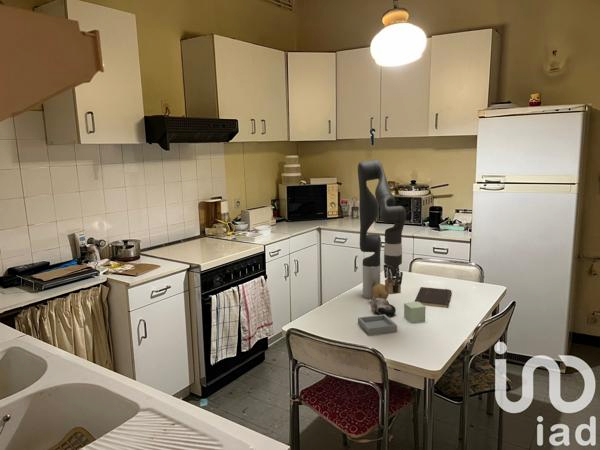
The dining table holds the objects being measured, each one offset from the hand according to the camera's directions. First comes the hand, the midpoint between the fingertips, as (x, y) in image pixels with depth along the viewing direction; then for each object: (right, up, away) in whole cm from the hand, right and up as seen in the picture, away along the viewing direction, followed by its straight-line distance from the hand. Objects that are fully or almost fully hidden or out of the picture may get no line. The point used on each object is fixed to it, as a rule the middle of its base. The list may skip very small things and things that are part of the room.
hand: (392, 290), depth 197 cm
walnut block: (0, -1, 0) cm, 0 cm away
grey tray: (-6, -17, +4) cm, 18 cm away
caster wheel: (0, -14, +21) cm, 25 cm away
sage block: (+12, -15, +12) cm, 23 cm away
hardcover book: (+29, -10, +38) cm, 49 cm away
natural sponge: (0, -11, +34) cm, 35 cm away
